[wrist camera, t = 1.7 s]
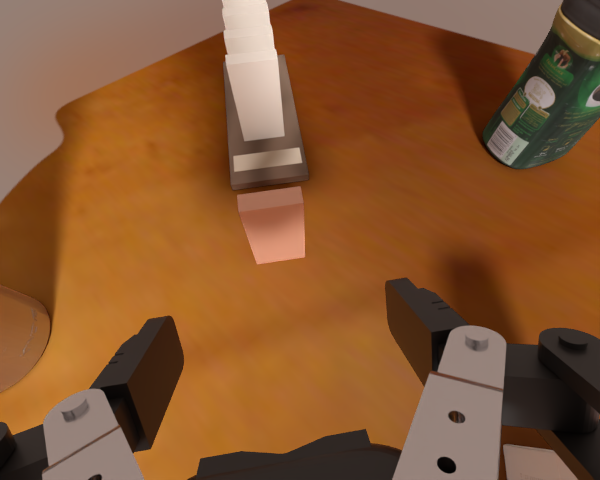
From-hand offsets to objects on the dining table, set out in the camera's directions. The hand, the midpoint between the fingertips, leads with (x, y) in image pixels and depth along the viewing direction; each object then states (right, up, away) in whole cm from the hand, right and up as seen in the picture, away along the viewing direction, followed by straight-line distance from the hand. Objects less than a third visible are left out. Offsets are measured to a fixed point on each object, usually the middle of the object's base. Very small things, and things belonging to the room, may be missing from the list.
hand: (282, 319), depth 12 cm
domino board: (-4, +19, +31) cm, 37 cm away
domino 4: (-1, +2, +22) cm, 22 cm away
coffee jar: (+28, +15, +28) cm, 42 cm away
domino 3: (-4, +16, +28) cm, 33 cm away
